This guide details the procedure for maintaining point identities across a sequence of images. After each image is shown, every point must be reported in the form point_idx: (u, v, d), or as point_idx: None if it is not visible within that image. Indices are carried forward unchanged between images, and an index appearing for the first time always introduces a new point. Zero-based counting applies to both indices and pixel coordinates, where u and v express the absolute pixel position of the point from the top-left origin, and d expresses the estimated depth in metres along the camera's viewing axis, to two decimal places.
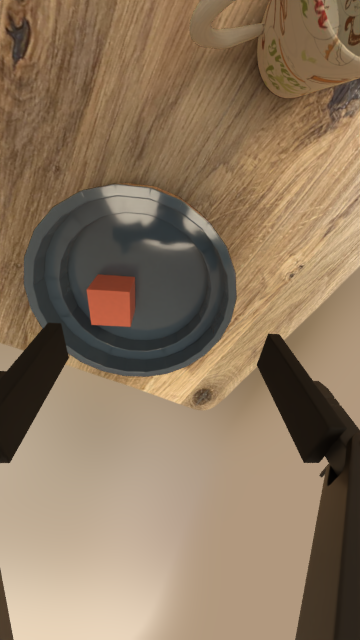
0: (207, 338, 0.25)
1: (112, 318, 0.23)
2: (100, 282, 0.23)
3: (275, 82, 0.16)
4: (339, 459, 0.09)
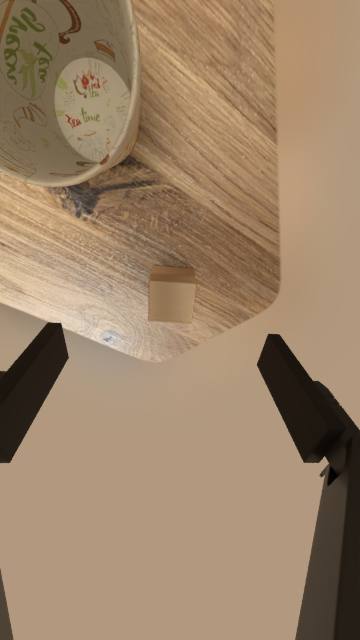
0: None
1: None
2: None
3: None
4: (339, 459, 0.09)
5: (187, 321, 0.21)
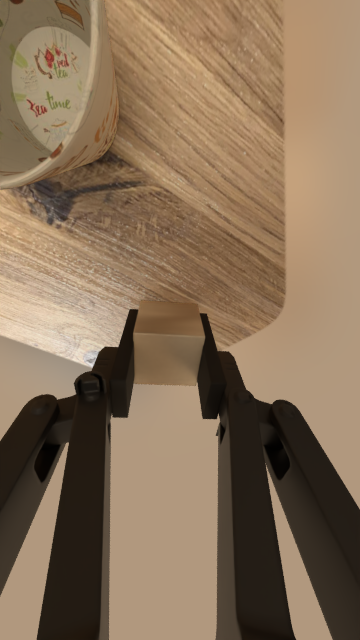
0: None
1: None
2: None
3: None
4: (224, 417, 0.10)
5: (190, 383, 0.14)
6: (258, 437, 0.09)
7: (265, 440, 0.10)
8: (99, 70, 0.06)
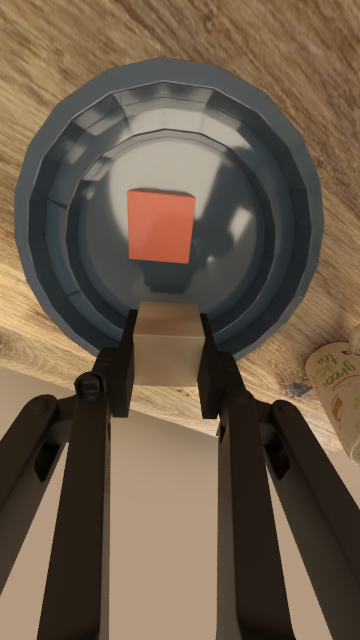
0: None
1: (143, 232, 0.14)
2: None
3: (323, 362, 0.24)
4: (224, 417, 0.10)
5: (190, 384, 0.14)
6: (258, 437, 0.09)
7: (265, 439, 0.10)
8: None
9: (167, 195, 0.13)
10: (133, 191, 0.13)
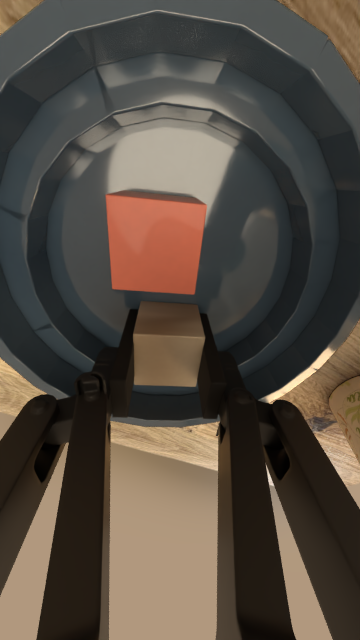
0: None
1: (131, 253, 0.10)
2: None
3: (355, 400, 0.20)
4: (224, 417, 0.10)
5: (190, 384, 0.14)
6: (258, 437, 0.09)
7: (265, 439, 0.10)
8: None
9: (165, 201, 0.09)
10: (114, 196, 0.09)
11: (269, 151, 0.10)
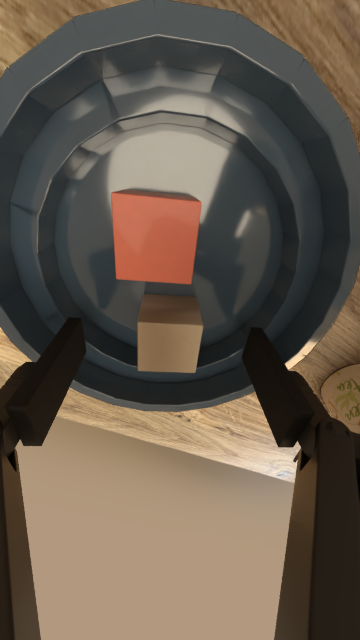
0: (105, 384, 0.16)
1: (133, 246, 0.11)
2: None
3: (345, 388, 0.21)
4: (309, 444, 0.10)
5: (190, 370, 0.15)
6: (353, 478, 0.08)
7: None
8: None
9: (164, 199, 0.10)
10: (119, 194, 0.10)
11: (258, 153, 0.11)
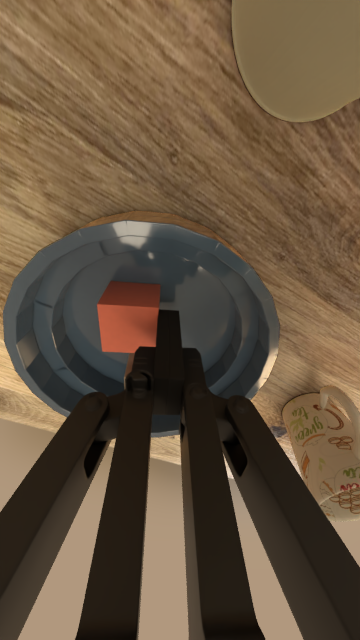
0: None
1: (113, 332, 0.16)
2: None
3: (297, 414, 0.26)
4: (183, 414, 0.10)
5: None
6: (215, 430, 0.09)
7: (221, 435, 0.10)
8: None
9: (132, 307, 0.15)
10: (102, 304, 0.15)
11: None
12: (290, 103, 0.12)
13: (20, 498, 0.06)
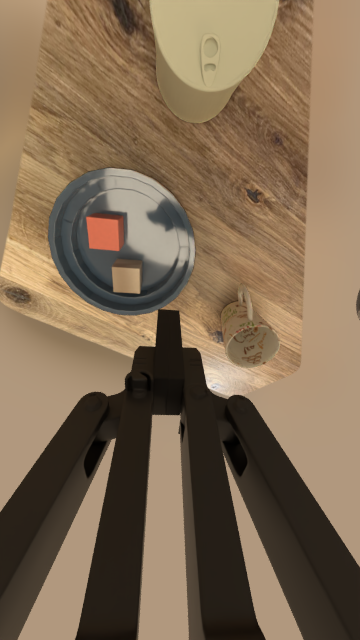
0: (99, 300, 0.35)
1: (95, 235, 0.30)
2: (120, 224, 0.31)
3: (225, 312, 0.40)
4: (183, 414, 0.10)
5: (137, 292, 0.34)
6: (215, 430, 0.09)
7: (221, 434, 0.10)
8: None
9: (104, 219, 0.29)
10: (89, 217, 0.29)
11: (154, 200, 0.30)
12: (184, 114, 0.26)
13: (20, 498, 0.06)
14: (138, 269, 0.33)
